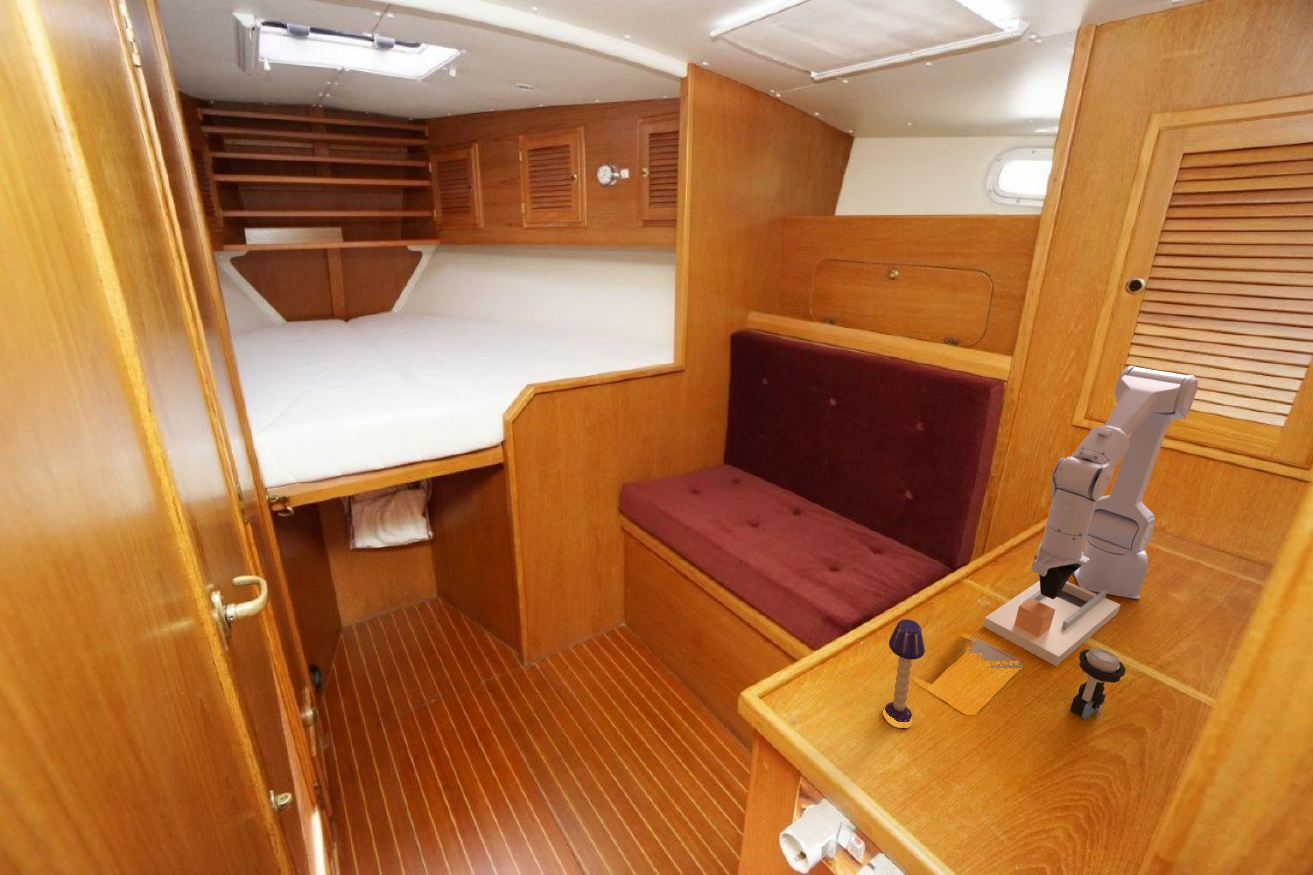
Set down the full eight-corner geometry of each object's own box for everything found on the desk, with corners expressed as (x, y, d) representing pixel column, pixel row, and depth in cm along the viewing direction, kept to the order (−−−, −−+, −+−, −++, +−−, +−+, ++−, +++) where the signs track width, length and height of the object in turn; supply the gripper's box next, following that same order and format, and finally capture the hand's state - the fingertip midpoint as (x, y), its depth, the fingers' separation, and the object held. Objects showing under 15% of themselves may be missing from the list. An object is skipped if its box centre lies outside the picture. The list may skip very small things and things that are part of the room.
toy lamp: (893, 734, 82) (910, 639, 76) (870, 710, 86) (885, 619, 80) (919, 723, 83) (937, 630, 78) (895, 700, 87) (911, 610, 82)
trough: (1047, 582, 115) (1051, 567, 114) (1117, 613, 106) (1122, 597, 105) (983, 626, 103) (986, 610, 102) (1056, 666, 94) (1061, 649, 92)
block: (1025, 616, 102) (1030, 597, 101) (1050, 628, 99) (1055, 609, 98) (1014, 624, 100) (1019, 605, 99) (1038, 637, 97) (1044, 618, 96)
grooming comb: (964, 633, 102) (964, 630, 102) (1026, 666, 94) (1027, 662, 94) (907, 681, 92) (908, 678, 91) (972, 722, 84) (973, 718, 84)
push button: (1080, 687, 89) (1096, 636, 86) (1120, 711, 85) (1139, 657, 81) (1057, 705, 86) (1073, 652, 83) (1097, 730, 82) (1116, 675, 78)
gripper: (1073, 551, 88) (1053, 623, 93) (1113, 524, 95) (1093, 592, 100) (1025, 532, 94) (1009, 601, 98) (1066, 508, 101) (1049, 573, 106)
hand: (1048, 595), depth 100 cm, fingers closed
